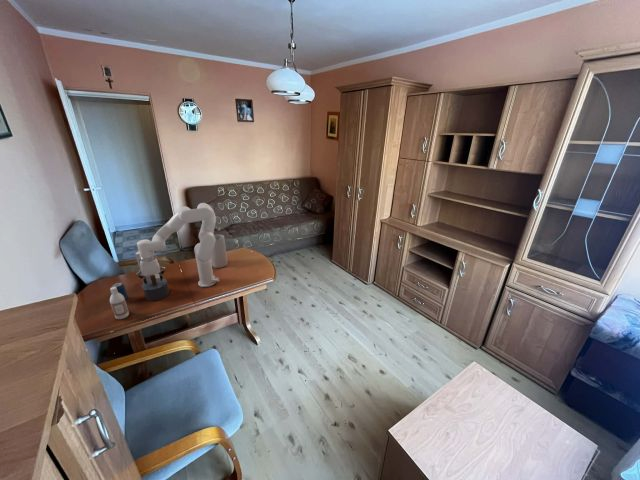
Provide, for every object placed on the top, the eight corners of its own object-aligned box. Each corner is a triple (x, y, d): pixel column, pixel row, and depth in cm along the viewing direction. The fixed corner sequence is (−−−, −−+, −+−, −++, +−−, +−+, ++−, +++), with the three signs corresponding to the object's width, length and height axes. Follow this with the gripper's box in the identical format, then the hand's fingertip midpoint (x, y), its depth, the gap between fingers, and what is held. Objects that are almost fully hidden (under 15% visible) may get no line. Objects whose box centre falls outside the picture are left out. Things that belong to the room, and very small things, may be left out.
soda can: (126, 295, 178) (121, 280, 174) (129, 299, 174) (124, 284, 170) (113, 300, 173) (108, 284, 169) (117, 304, 169) (112, 288, 165)
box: (160, 278, 200) (153, 248, 190) (156, 284, 192) (148, 253, 183) (148, 279, 198) (140, 249, 189) (143, 285, 191) (135, 254, 181)
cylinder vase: (209, 264, 222) (205, 236, 212) (223, 259, 229) (220, 233, 220) (215, 269, 213) (211, 241, 203) (230, 265, 221) (226, 237, 211)
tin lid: (171, 279, 184) (169, 270, 181) (160, 291, 170) (157, 281, 168) (150, 279, 184) (147, 270, 181) (137, 291, 170) (134, 281, 167)
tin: (172, 289, 186) (170, 279, 183) (162, 301, 174) (159, 290, 171) (153, 289, 186) (150, 278, 183) (141, 300, 174) (138, 290, 170)
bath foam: (115, 321, 155) (105, 292, 147) (115, 314, 160) (106, 286, 153) (129, 317, 159) (120, 289, 151) (129, 310, 164) (120, 283, 156)
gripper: (163, 253, 176) (168, 275, 183) (132, 259, 168) (138, 282, 175) (163, 257, 170) (169, 281, 177) (131, 263, 162) (138, 288, 169)
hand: (153, 281), depth 176 cm, fingers open, 8 cm apart
